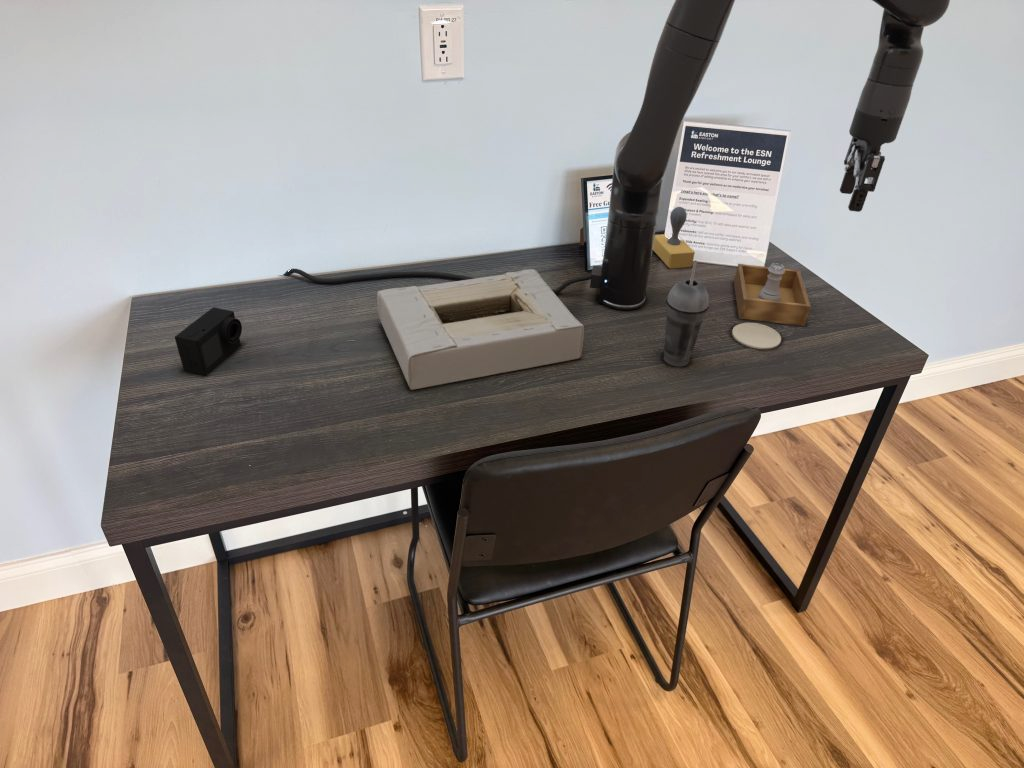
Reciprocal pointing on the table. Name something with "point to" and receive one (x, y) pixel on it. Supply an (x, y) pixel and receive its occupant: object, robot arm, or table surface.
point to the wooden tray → (785, 311)
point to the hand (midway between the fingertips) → (849, 201)
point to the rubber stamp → (674, 243)
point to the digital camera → (208, 340)
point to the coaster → (756, 335)
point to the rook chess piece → (772, 283)
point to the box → (477, 327)
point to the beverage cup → (684, 319)
